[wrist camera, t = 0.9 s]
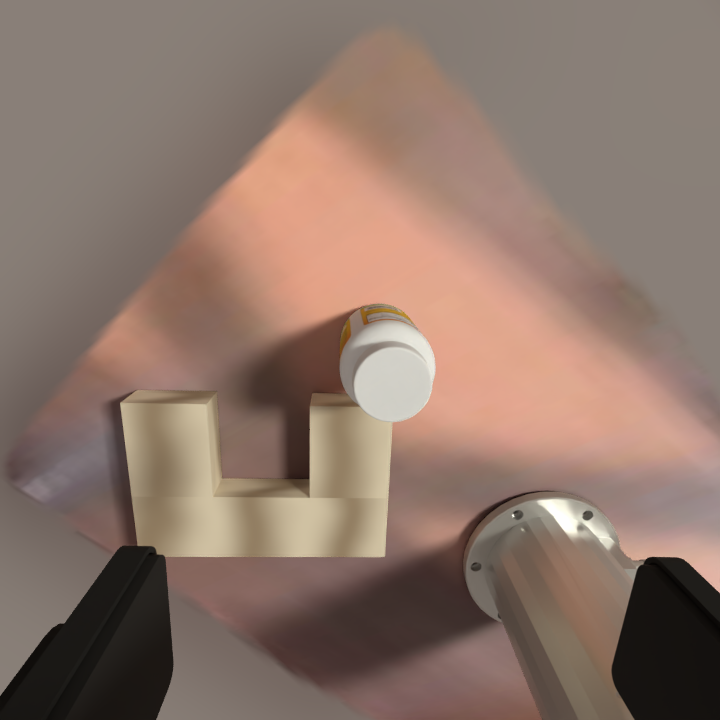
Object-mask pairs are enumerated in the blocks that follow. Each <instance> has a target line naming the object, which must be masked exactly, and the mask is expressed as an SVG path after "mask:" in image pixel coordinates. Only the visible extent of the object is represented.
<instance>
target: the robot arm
mask: <svg viewBox="0 0 720 720" xmlns="http://www.w3.org/2000/svg"><path fill="white" fill-rule="evenodd" d="M463 572H464V577H465V580H466V584H467V587H468V589H469V592H470V594H471V596H472V598H473V600H474V601H475V603H476V604H477V605H478V607H479V608H480V609H481V610H483V611H484V612H485V613H486V614H487V615H488V616H490V617H492V618H493V619H495V620H497V621H499V622H501V623H503V625H504V628H505V630H506V633H507V635H508V637H509V640H510V642H511V645H512V647H513V650H514V652H515V655H516V657H517V659H518V662H519V664H520V667H521V669H522V672H523V674H524V677H525V679H526V681H527V684H528V686H529V689H530V691H531V694H532V696H533V699H534V701H535V703H536V706H537V708H538V711H539V713H540V716H541V718H542V720H720V593H719V592H718V591H717V590H716V589H715V588H714V587H713V586H712V585H710V584H709V583H708V582H707V581H706V580H705V579H704V578H703V577H702V576H701V575H700V574H699V573H698V572H697V571H696V570H695V569H694V568H693V567H692V566H691V565H690V564H689V563H687V562H686V561H685V560H683V559H681V558H675V557H649V558H647V559H646V560H639V561H632V559H631V558H629V557H627V556H626V555H625V554H624V553H623V552H622V550H621V547H620V541H619V537H618V535H617V533H616V530H615V528H614V526H613V525H612V524H611V522H610V521H609V520H608V518H607V517H606V516H605V515H604V514H603V513H602V512H601V511H600V510H599V509H598V508H597V507H596V506H594V505H593V504H591V503H590V502H588V501H587V500H585V499H583V498H580V497H578V496H575V495H573V494H568V493H562V492H537V493H531V494H526V495H523V496H520V497H517V498H514V499H512V500H510V501H508V502H506V503H504V504H502V505H501V506H499V507H498V508H496V509H495V510H494V511H492V512H491V513H490V514H488V515H487V516H486V517H485V518H484V519H483V520H482V521H481V522H480V524H479V525H478V526H477V527H476V529H475V530H474V532H473V533H472V535H471V536H470V538H469V541H468V543H467V546H466V548H465V553H464V559H463ZM172 672H173V652H172V638H171V626H170V613H169V600H168V586H167V573H166V561H165V557H164V555H160V554H157V552H156V549H155V547H153V546H122V547H120V548H119V549H118V550H117V551H116V553H115V554H114V556H113V557H112V558H111V560H110V561H109V562H108V564H107V565H106V567H105V568H104V570H103V571H102V573H101V574H100V575H99V576H98V578H97V579H96V580H95V582H94V583H93V585H92V586H91V587H90V589H89V590H88V592H87V593H86V594H85V596H84V597H83V599H82V600H81V601H80V603H79V604H78V606H77V607H76V608H75V610H74V611H73V612H72V614H71V615H70V617H69V618H68V619H67V621H66V622H65V623H64V624H58V625H57V626H55V627H53V628H52V629H51V630H50V631H49V632H48V633H47V635H46V636H45V637H44V638H43V639H42V641H41V642H40V644H39V645H38V646H37V647H36V649H35V650H34V652H33V653H32V654H31V655H30V657H29V658H28V660H27V661H26V662H25V664H24V665H23V666H22V668H21V669H20V670H19V672H18V673H17V674H16V676H15V677H14V678H13V680H12V681H11V682H10V684H9V685H8V686H7V688H6V689H5V690H4V692H3V693H2V694H1V696H0V720H156V718H157V716H158V713H159V711H160V708H161V706H162V703H163V701H164V697H165V695H166V693H167V690H168V688H169V685H170V681H171V677H172Z"/></svg>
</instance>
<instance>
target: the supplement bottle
mask: <svg viewBox="0 0 720 720" xmlns="http://www.w3.org/2000/svg"><path fill="white" fill-rule="evenodd" d="M339 358H340V361H339V369H340V377H341V381H342V384H343V387H344V389H345V391H346V392H347V394H348V395H349V396H350V398H351V399H352V400H353V401H354V402H355V403H357V404H358V405H359V406H360V407H361V409H362V410H363V411H364V412H365V413H367V414H368V415H369V416H371V417H373V418H375V419H377V420H380V421H384V422H399V421H403V420H406V419H409V418H411V417H412V416H414V415H416V414H417V413H418V412H419V411H420V410H421V409H422V408H423V407H424V406H425V405H426V403H427V401H428V400H429V397H430V395H431V391H432V383H433V380H434V376H435V358H434V354H433V351H432V349H431V347H430V345H429V343H428V341H427V340H426V338H425V337H424V336H423V334H422V333H421V332H420V331H419V330H418V328H417V327H416V326H415V324H414V323H413V322H412V321H411V319H410V318H409V317H408V316H407V315H406V314H405V313H404V312H403V311H401V310H400V309H398V308H396V307H394V306H391V305H388V304H371V305H367V306H364V307H362V308H360V309H358V310H357V311H355V312H354V313H353V314H352V315H351V316H350V317H349V318H348V320H347V321H346V323H345V324H344V326H343V329H342V332H341V336H340V357H339Z"/></svg>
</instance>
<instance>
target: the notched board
mask: <svg viewBox="0 0 720 720" xmlns="http://www.w3.org/2000/svg"><path fill="white" fill-rule="evenodd" d="M120 406H121V414H122V422H123V430H124V438H125V446H126V455H127V463H128V471H129V479H130V487H131V495H132V503H133V512H134V520H135V528H136V536H137V544H138V546H153V547H155V549H156V552H157V554H160V555H164V557H385V545H386V527H387V509H388V492H389V474H390V456H391V439H392V422H384V421H380V420H377V419H375V418H373V417H371V416H369V415H368V414H367V413H365V412H364V411H363V410H362V409H361V407H360V406H359V405H358V404H357V403H355V402H354V401H353V400H352V399H351V398H350V396H349V395H348V394H336V393H312V397H311V403H310V479H240V478H222V469H221V452H220V435H219V418H218V401H217V391H166V390H136V391H135V392H134V393H132V394H131V395H130V396H129V397H127V398H126V399H125V400H123V401H122V402H121V403H120Z"/></svg>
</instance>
